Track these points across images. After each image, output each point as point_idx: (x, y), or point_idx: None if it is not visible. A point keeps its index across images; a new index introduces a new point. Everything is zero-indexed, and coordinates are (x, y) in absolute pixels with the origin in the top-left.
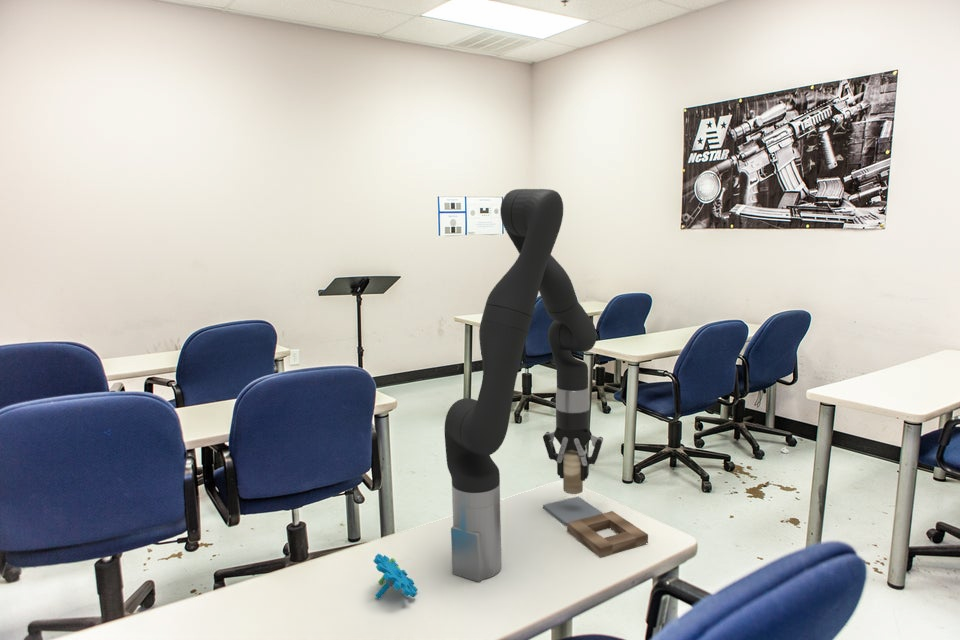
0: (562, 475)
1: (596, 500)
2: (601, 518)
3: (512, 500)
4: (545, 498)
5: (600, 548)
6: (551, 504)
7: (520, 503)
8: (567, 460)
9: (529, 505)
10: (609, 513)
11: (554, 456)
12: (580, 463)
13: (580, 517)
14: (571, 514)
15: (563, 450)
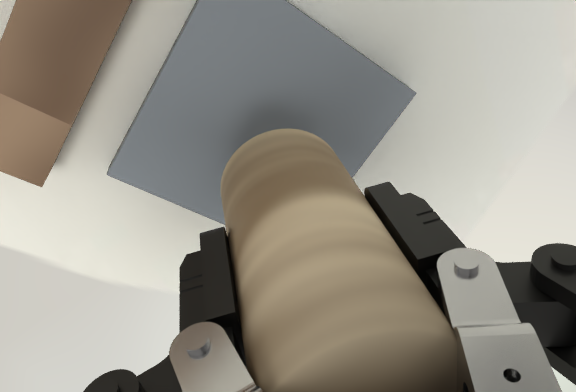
0: (375, 196)
1: None
2: (33, 71)
3: (563, 82)
4: (426, 179)
5: None
6: (378, 120)
7: (522, 74)
8: (379, 283)
9: (476, 79)
10: (35, 152)
11: (537, 288)
12: (247, 330)
13: (183, 67)
14: (242, 73)
15: (491, 373)
